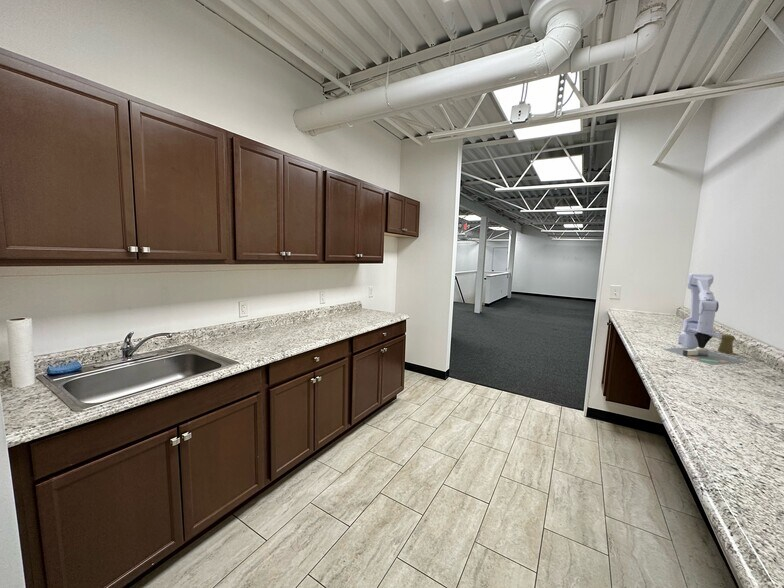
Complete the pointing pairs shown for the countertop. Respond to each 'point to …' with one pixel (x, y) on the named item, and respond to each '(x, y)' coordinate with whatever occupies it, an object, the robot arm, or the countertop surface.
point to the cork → (726, 344)
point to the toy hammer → (696, 351)
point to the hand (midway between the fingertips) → (701, 347)
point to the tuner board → (707, 357)
